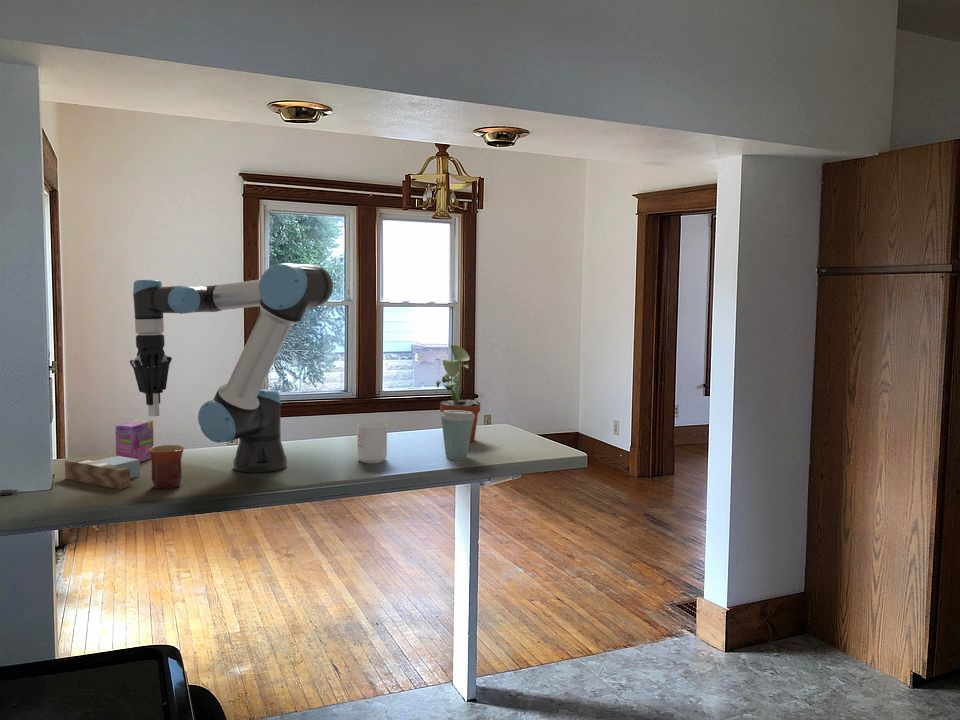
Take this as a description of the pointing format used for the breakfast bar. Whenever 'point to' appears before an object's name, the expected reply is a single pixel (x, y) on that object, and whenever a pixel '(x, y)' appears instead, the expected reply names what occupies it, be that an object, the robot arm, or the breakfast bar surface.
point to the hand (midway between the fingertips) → (154, 415)
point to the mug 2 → (372, 442)
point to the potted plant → (457, 404)
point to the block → (124, 464)
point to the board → (97, 473)
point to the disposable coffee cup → (457, 432)
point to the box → (134, 439)
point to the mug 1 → (166, 466)
